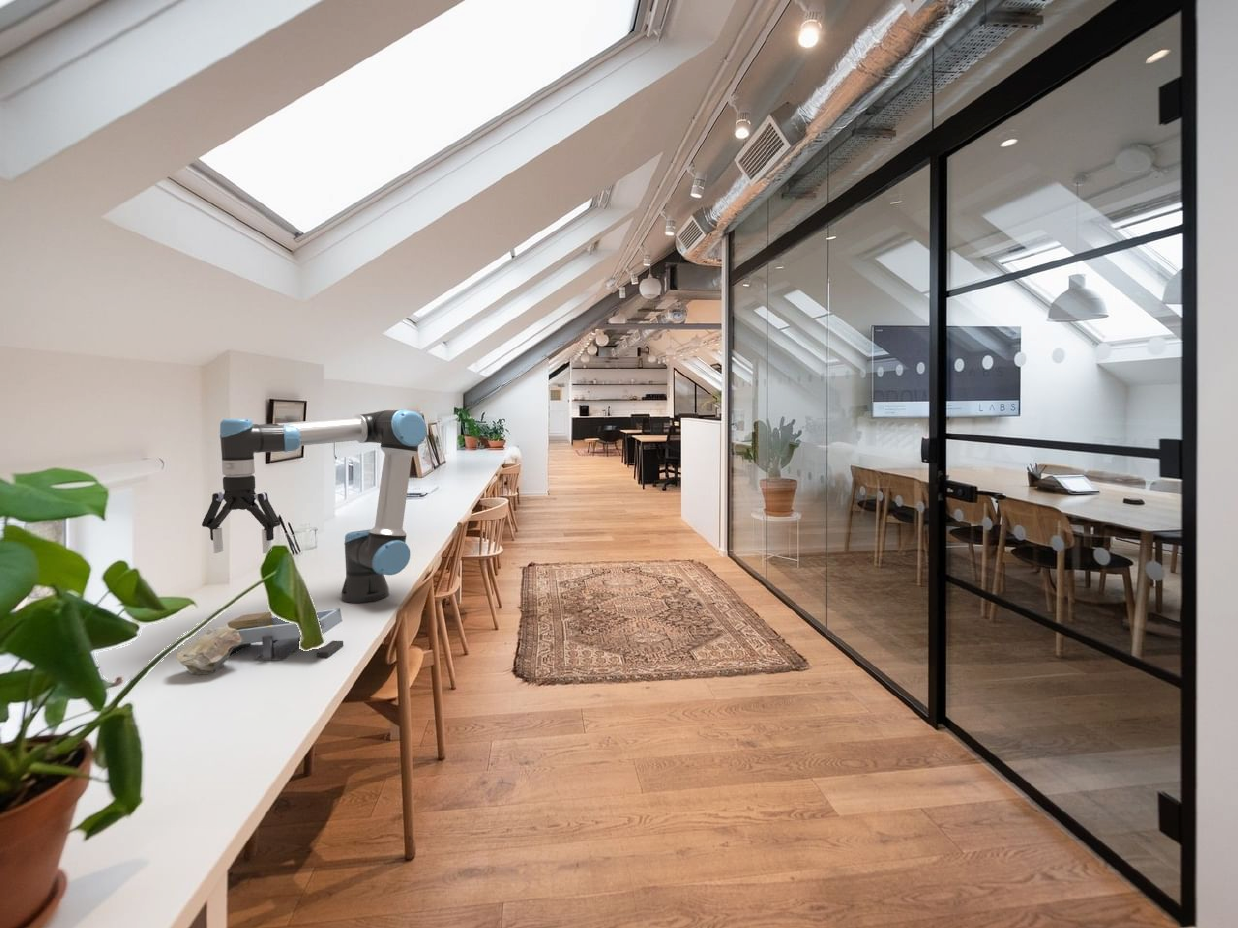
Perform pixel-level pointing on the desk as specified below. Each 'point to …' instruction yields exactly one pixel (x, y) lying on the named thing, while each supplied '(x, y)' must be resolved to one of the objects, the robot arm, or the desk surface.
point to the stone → (209, 650)
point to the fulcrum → (286, 648)
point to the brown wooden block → (251, 621)
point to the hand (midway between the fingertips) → (242, 552)
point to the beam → (289, 627)
